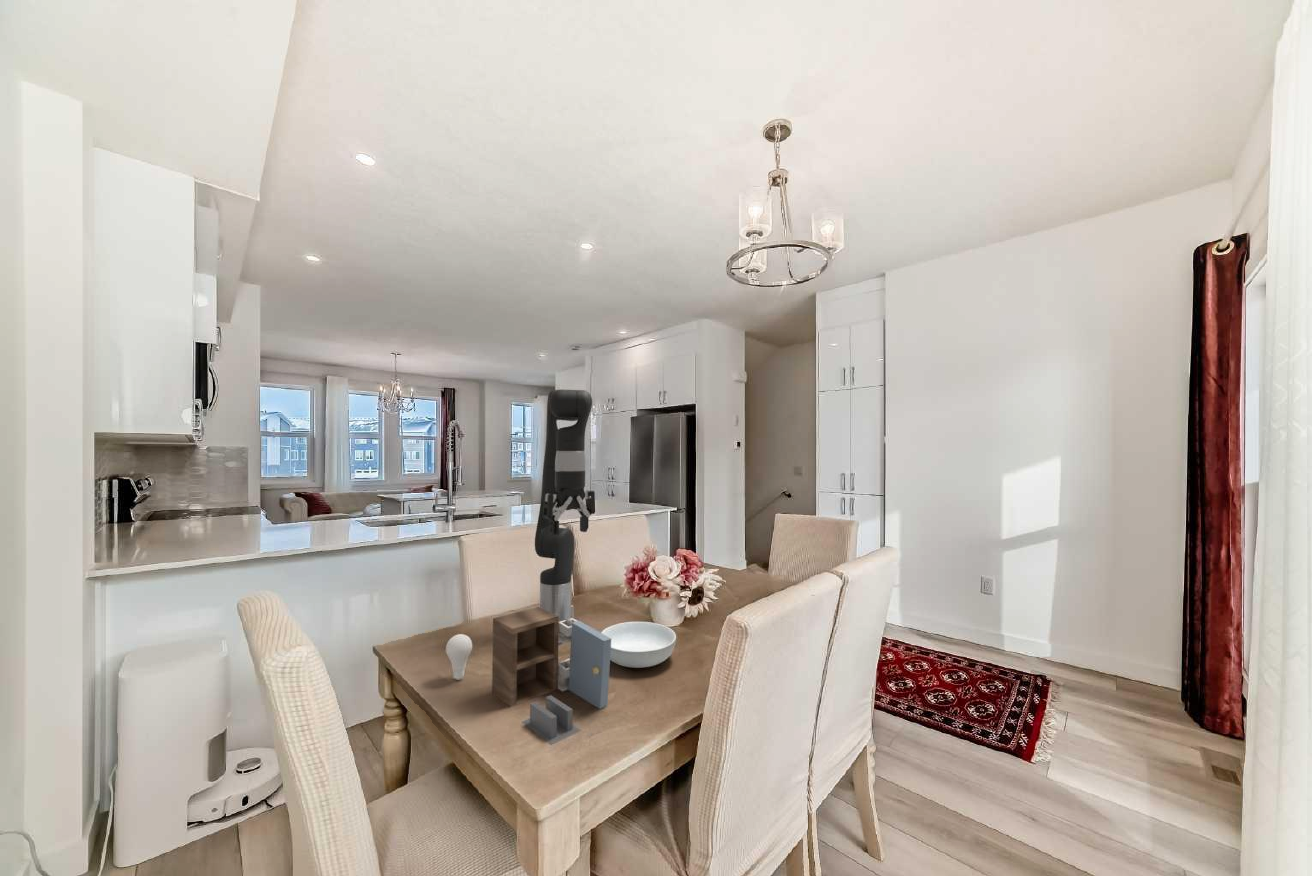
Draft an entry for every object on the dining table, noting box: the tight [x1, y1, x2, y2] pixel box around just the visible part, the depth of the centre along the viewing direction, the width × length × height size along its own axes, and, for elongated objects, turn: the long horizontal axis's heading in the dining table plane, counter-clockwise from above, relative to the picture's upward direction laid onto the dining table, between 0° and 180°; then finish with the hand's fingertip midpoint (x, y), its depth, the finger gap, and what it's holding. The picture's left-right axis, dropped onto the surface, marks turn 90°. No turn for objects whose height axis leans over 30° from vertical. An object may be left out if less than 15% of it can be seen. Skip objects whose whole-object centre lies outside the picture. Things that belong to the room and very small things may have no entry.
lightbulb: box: [445, 633, 473, 681], centre depth 126 cm, size 6×6×11 cm
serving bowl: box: [600, 621, 677, 669], centre depth 139 cm, size 21×21×7 cm
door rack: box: [521, 694, 582, 746], centre depth 104 cm, size 7×11×5 cm, turn 45°
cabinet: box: [491, 606, 572, 707], centre depth 120 cm, size 17×11×18 cm, turn 135°
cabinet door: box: [558, 618, 611, 710], centre depth 117 cm, size 4×16×16 cm, turn 45°
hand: (569, 533), depth 128 cm, fingers open, 8 cm apart
